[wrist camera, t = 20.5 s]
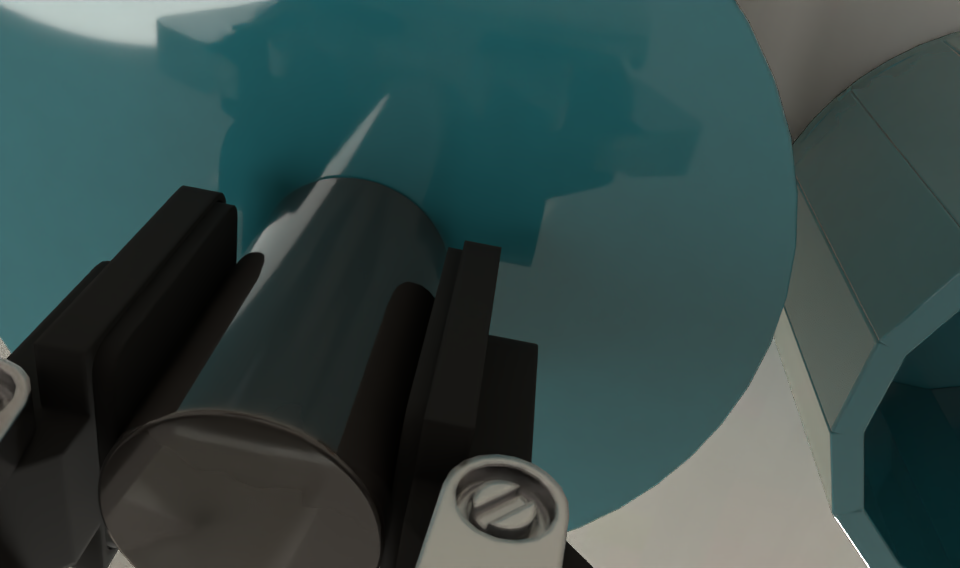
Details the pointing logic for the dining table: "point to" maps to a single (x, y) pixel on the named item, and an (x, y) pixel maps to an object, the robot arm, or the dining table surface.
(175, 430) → the lid
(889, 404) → the pot
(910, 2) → the dining table surface
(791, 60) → the dining table surface
